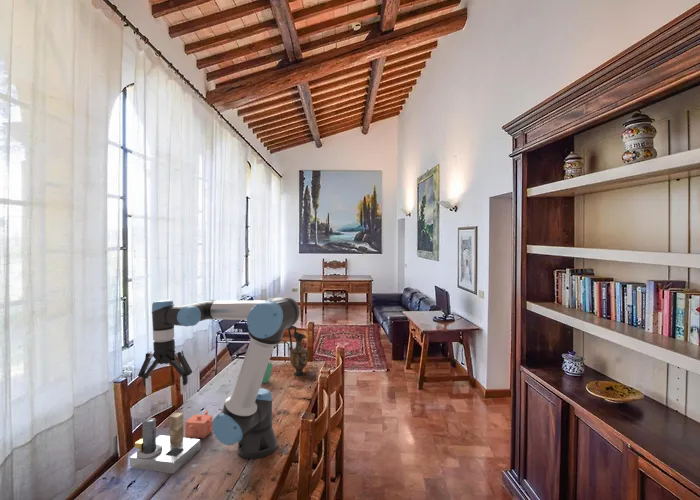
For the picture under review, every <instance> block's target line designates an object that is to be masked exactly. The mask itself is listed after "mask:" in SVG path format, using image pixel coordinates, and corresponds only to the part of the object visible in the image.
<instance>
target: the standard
mask: <svg viewBox="0 0 700 500" xmlns="http://www.w3.org/2000/svg"><path fill="white" fill-rule="evenodd" d="M141 425H142V438H140V439H138V440H137V441H135V443H134V448H135V449H137V450H138V451H136V452H137V458H139V459H149V458H153V457H155V456H157V455H159V454H160V453H161V452H162V446H161V445H157V444H156V438H157V418H155V417H149V418H145V419H144V420H142V424H141Z"/></svg>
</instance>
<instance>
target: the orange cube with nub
mask: <svg viewBox="0 0 700 500" xmlns="http://www.w3.org/2000/svg"><path fill="white" fill-rule="evenodd" d="M213 420H214V418H213V415H210V414H209V410H207V411H205V413H204V414H194V415H192V416H191V417H189V418H187V419H186V420H185V422H184V424H185V425H184V427H185V428H184V429H185V433H184V435H185V438H192V439H199V438H201V439H202V440H203V439H206V438H207V436H209V434H210V433H211V432H213V429H212V423H213ZM201 439H200V440H201Z"/></svg>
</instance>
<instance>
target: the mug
mask: <svg viewBox="0 0 700 500" xmlns="http://www.w3.org/2000/svg"><path fill="white" fill-rule="evenodd" d="M273 366H274V365H273V362H269V363H268V366H267V369H266V372H265V375H264V378H263V380H262V383H261V384H267V383H269V382H270V379H271V376H272V370H273Z"/></svg>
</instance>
